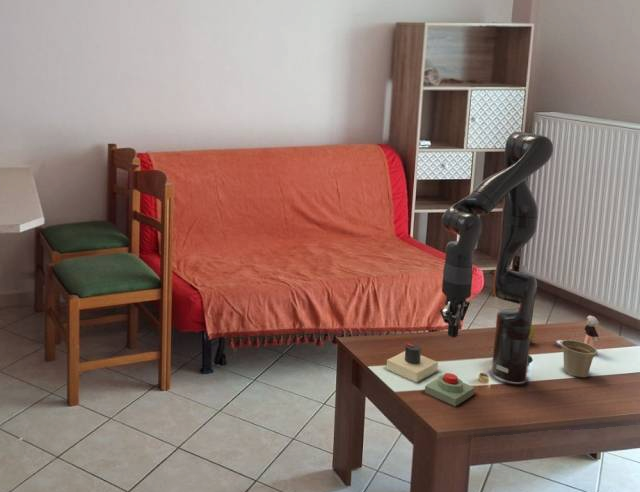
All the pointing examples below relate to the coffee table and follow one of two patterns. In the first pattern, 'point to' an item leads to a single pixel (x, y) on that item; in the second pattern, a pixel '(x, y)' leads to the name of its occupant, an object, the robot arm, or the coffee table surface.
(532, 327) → the lemon
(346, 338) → the coffee table surface
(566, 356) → the flower pot
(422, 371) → the panel
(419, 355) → the hob knob
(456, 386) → the switch box
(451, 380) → the button
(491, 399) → the coffee table surface
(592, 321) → the grandmother figurine
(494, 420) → the coffee table surface
